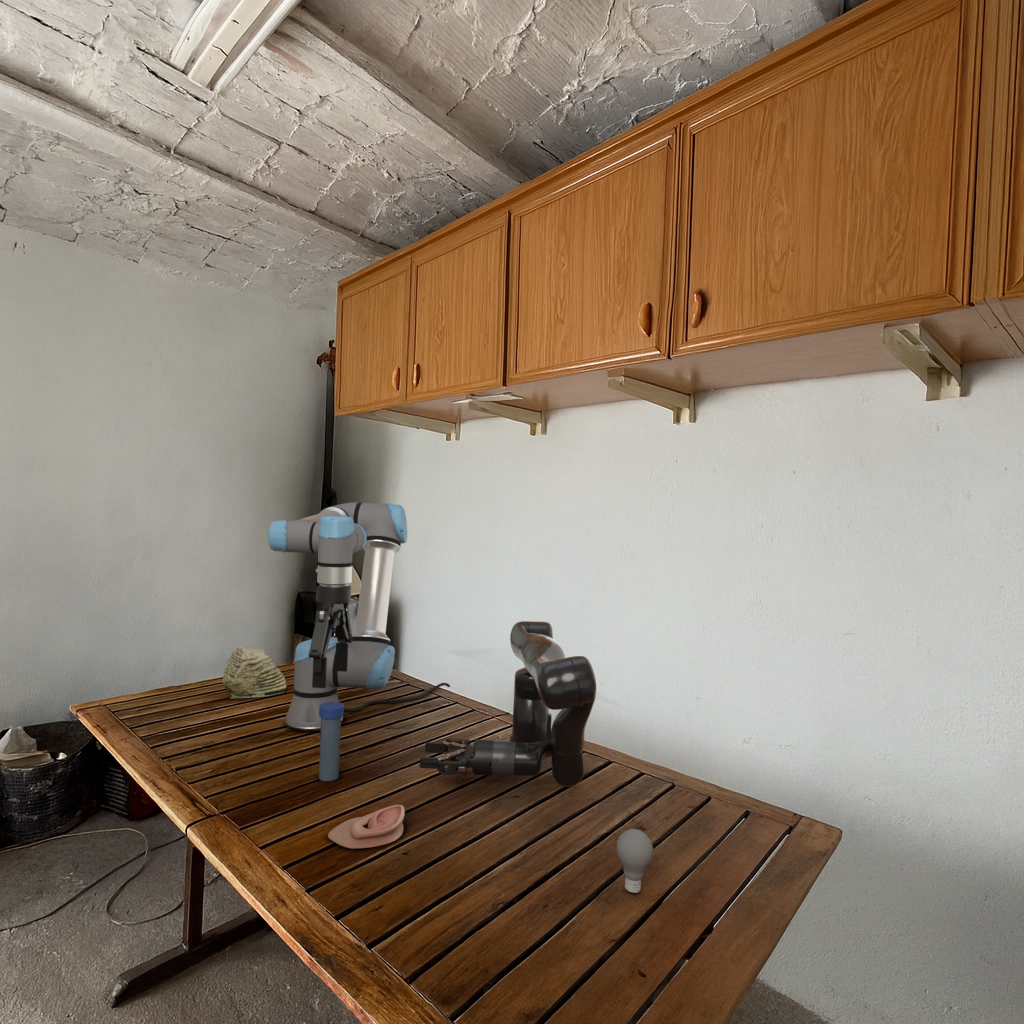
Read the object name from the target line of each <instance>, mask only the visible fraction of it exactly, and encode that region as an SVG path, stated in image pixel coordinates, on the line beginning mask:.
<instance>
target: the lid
mask: <svg viewBox="0 0 1024 1024" xmlns="http://www.w3.org/2000/svg"><path fill="white" fill-rule="evenodd" d="M344 708H345V705H344V703H343V702H340V701H339V702H326V703H322V704H321V705H320V706H319V717H321V718H323V719H336V718H340V717H342V716H343V717H344V712H343V711H344Z"/></svg>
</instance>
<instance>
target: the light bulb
mask: <svg viewBox="0 0 1024 1024" xmlns="http://www.w3.org/2000/svg"><path fill="white" fill-rule="evenodd" d="M615 849H616V854H617V857H618V859H619V861H620V863H621V865H622V867H623V873H624V874H623V875H624V876H625V878H624V888H625V890H627V891H628V892H630V893H634V894H635V893H639V892H640V891H641V889H642V887H641V886H642V879H643V877H644V875H645V871H646V868H647V867H648V866H649V864H650V863H651V861H652V859H653V855H654V847H653V843H652V841H651V838H649V836H648V835H647V834H646V833H645V832H643V831H642V830H641V829H636V828H629V829H627V830H625V831H623V832H622V833H621V834H620V835H619V837H618V839H617V841H616V847H615Z"/></svg>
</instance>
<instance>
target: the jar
mask: <svg viewBox="0 0 1024 1024" xmlns="http://www.w3.org/2000/svg"><path fill="white" fill-rule="evenodd" d="M341 731H342V723H341V717H340V718H336V719H323V718H321V731H319V733H320V734H319V736H320V737H319V757H318V759H319V760H318V779H319V780H320V781H322V782H332V781H335V780H337V779H338V778H340V762H341V761H340V759H341V757H340V756H341V737H342V736H341V733H342V732H341Z"/></svg>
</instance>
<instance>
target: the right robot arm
mask: <svg viewBox="0 0 1024 1024" xmlns="http://www.w3.org/2000/svg"><path fill="white" fill-rule="evenodd" d="M510 630H511V631H510V636H509V642H510V647H511V650H512V653H513V654H514V656H515V657H516V658H518V659H519V660H520V661H521V662H522V663H523V666H524V667H521V668H519V669H517V670H516V671H515V673H514V682H513V683H514V685H513V707H512V709H513V710H512V731H511V735H510V737H509V740H501V739H479V738H478V739H475V740H474V742H473V745H472V740H471V739H464V738H463V739H462V738H449V737H447V738H445V740H443V741H441V742H435V741H427V742H425V744H424V752H425V753H428V754H429V753H430V754H443V755H444V756H440V757H434V756H421V757H420V758H419V768H421V769H433V770H437V771H438V775H443V776H446V775H447V776H448V775H450V776H452V775H453V776H466V775H467V773H468V772H467V771H468V769H469V768H471V769H472V774H473V775H474V776H487V777H489V776H491V777H509V776H510V777H511V776H518V777H536V776H538V775H539V774H540V772H541V770H542V769H541V768H542V764H543V761H544V760H546V759H547V758H551V775H552V778H553V780H554V781H555V782H556V784H558V785H559V786H561V787H564V788H572V787H573V788H574V787H575V786H577V785H578V784H579V783H581V781H582V780H583V777H584V773H585V772H584V746H585V734H586V733H585V730H586V726H587V723H588V721H589V718H590V715H591V713H592V710H593V707H594V705H595V701H596V698H597V693H598V681H597V676H596V672H595V669H594V666H593V664H592V662H591V660H590V659H589V657H587V656H586V655H572V656H567V655H566V652H565V650H564V648H563V647H562V646H561V645H560V644H559V643H558V642H557V640H555V639H554V627H553V626H552V624H551V623H550V622H549V621H539V620H537V621H536V620H535V621H534V620H521V621H517V622H516V623H514V624H513V626H512V627H511V629H510ZM550 710H551V711H559V710H560V711H559V712H558V713H557V715H556V716H555V718H554V720H553V722H552V719H553V718H552V716H553V715H552V713H551V712H550Z"/></svg>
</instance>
